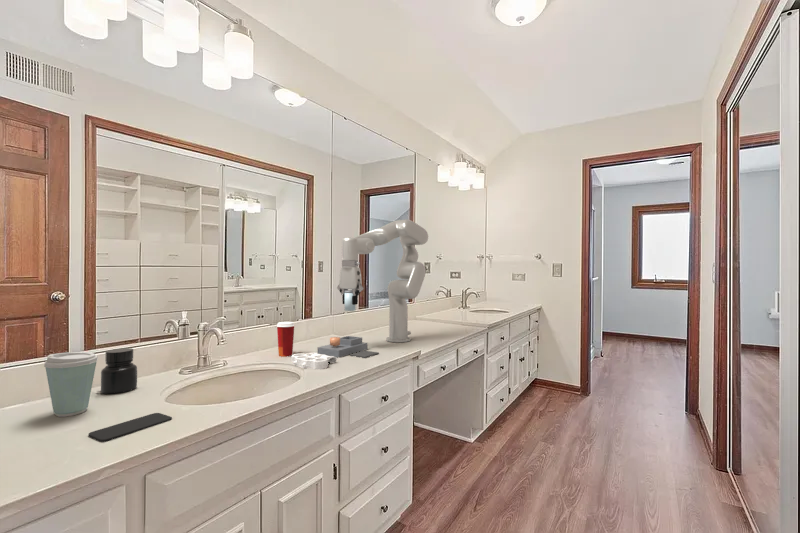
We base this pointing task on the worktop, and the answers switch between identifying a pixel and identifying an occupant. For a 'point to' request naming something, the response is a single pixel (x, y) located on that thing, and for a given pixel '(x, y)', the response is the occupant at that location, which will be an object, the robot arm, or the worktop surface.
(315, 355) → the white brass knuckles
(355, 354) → the mat
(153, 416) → the phone
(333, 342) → the plunger
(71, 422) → the worktop surface
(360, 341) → the grey stepped block
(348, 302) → the cylinder
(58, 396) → the disposable coffee cup
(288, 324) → the paper cup
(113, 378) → the ink bottle
